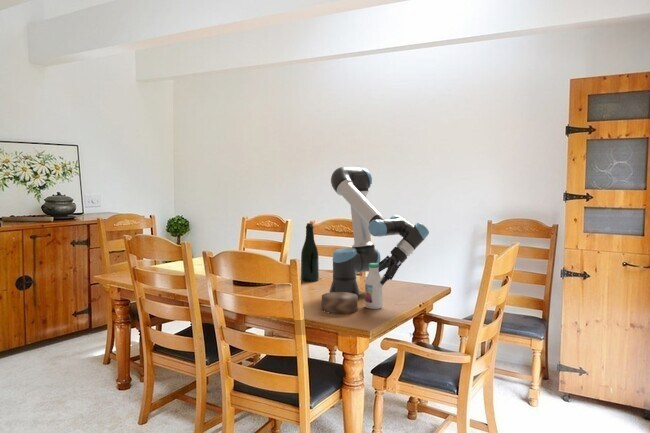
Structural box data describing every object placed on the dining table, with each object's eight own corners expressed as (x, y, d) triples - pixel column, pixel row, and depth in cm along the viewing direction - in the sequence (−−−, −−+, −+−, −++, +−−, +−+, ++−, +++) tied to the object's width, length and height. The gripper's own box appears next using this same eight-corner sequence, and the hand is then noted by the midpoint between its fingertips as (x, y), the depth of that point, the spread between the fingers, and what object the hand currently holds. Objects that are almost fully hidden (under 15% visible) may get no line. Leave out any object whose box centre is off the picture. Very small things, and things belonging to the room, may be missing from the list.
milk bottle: (380, 305, 229) (381, 262, 228) (383, 309, 222) (383, 264, 220) (364, 305, 229) (364, 262, 228) (366, 309, 222) (366, 265, 220)
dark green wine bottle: (299, 278, 291) (299, 222, 288) (317, 278, 293) (317, 222, 290) (301, 282, 280) (301, 224, 278) (320, 281, 282) (320, 223, 280)
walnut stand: (319, 313, 215) (319, 299, 214) (324, 304, 231) (324, 291, 230) (356, 314, 213) (356, 300, 213) (358, 305, 229) (358, 292, 228)
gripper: (418, 261, 215) (385, 297, 213) (397, 253, 239) (367, 285, 237) (407, 249, 214) (373, 285, 211) (386, 242, 238) (356, 275, 235)
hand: (370, 285), depth 224 cm, fingers open, 13 cm apart
